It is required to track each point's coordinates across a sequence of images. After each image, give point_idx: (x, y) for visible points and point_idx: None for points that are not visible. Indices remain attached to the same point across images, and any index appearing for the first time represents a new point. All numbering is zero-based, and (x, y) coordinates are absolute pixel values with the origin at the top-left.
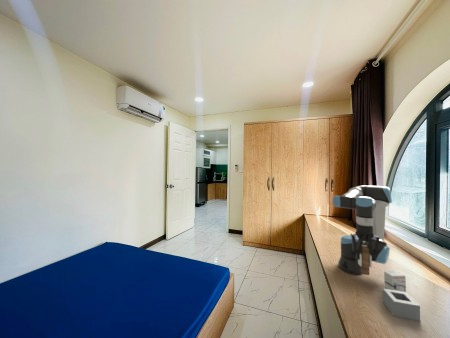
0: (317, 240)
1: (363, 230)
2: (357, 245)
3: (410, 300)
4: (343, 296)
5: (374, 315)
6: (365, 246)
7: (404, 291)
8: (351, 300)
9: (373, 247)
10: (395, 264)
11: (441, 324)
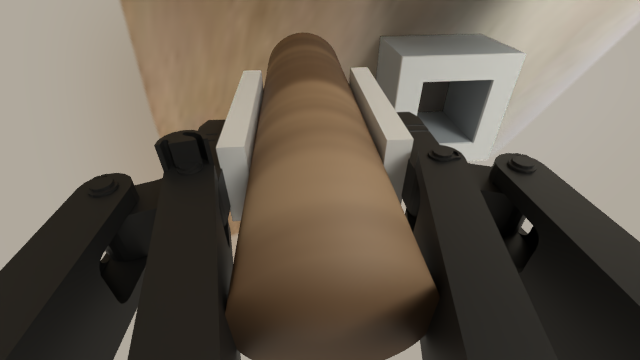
0: None
1: None
2: (149, 302)
3: (477, 133)
4: (178, 59)
5: None
6: (354, 324)
7: None
8: (217, 82)
9: (571, 255)
10: None
11: (524, 117)
